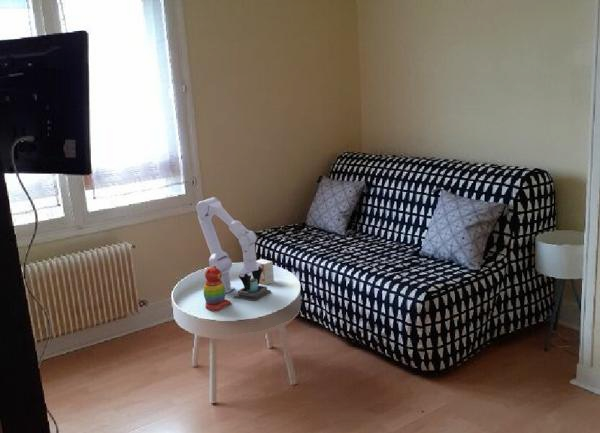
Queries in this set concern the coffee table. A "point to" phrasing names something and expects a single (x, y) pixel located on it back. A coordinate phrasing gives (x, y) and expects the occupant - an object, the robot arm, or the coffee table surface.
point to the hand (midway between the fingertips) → (252, 286)
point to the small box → (266, 271)
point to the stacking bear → (214, 290)
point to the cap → (253, 285)
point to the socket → (252, 296)
